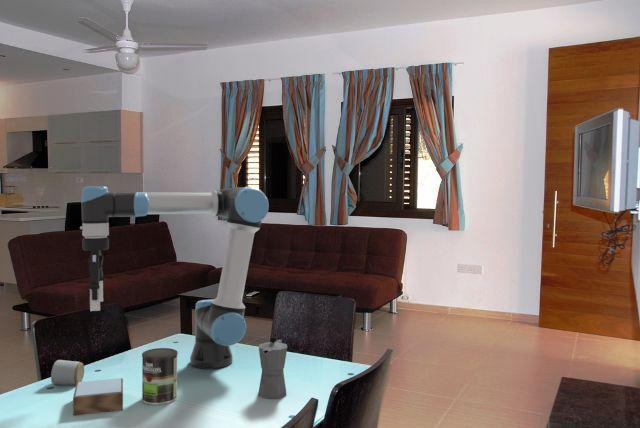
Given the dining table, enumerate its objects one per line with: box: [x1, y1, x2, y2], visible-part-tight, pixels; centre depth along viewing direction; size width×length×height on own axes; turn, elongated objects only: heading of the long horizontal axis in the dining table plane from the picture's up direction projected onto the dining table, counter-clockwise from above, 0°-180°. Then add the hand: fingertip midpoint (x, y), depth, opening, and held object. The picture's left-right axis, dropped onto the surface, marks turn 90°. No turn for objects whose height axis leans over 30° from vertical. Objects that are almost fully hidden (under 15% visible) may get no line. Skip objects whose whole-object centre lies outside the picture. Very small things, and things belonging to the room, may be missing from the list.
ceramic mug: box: [50, 359, 85, 386], centre depth 182 cm, size 11×8×8 cm
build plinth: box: [72, 377, 124, 416], centre depth 164 cm, size 13×13×5 cm
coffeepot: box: [258, 336, 288, 400], centre depth 175 cm, size 15×9×18 cm, turn 162°
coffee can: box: [141, 347, 179, 406], centre depth 169 cm, size 10×10×14 cm
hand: (96, 306), depth 173 cm, fingers open, 13 cm apart
